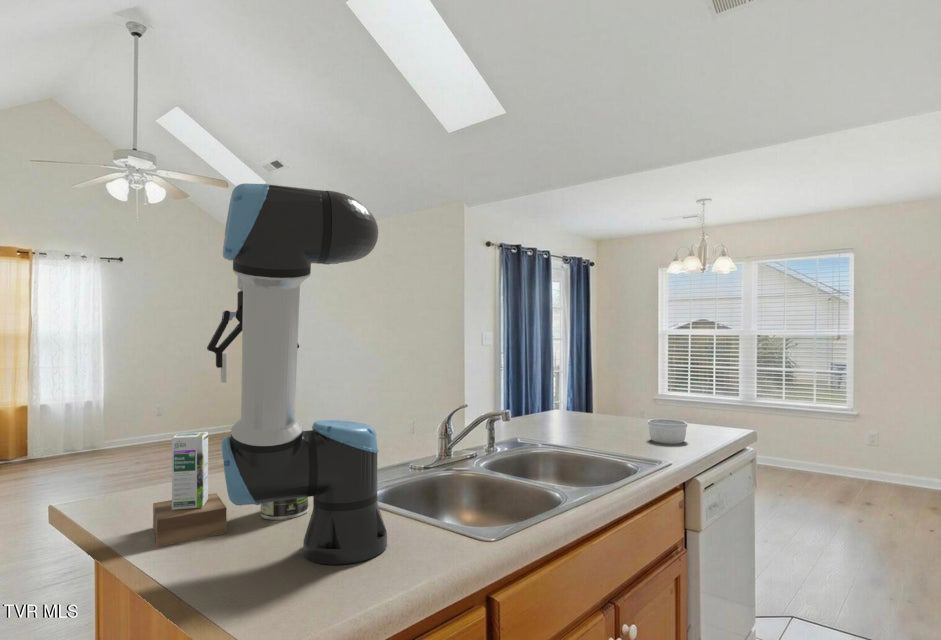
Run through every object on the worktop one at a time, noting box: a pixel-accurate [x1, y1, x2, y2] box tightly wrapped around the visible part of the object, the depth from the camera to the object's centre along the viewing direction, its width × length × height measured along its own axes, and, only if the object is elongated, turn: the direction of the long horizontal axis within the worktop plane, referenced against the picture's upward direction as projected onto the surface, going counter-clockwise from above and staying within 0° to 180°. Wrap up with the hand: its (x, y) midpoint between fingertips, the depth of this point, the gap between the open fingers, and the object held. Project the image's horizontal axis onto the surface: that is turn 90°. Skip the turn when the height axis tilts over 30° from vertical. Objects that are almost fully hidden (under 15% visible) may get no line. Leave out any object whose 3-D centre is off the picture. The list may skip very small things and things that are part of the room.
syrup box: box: [171, 431, 209, 510], centre depth 111 cm, size 6×6×14 cm
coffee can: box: [260, 497, 310, 521], centre depth 121 cm, size 10×10×14 cm
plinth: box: [152, 492, 227, 547], centre depth 110 cm, size 12×12×5 cm
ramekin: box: [647, 418, 688, 445], centre depth 194 cm, size 13×13×7 cm
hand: (254, 380), depth 128 cm, fingers open, 13 cm apart
